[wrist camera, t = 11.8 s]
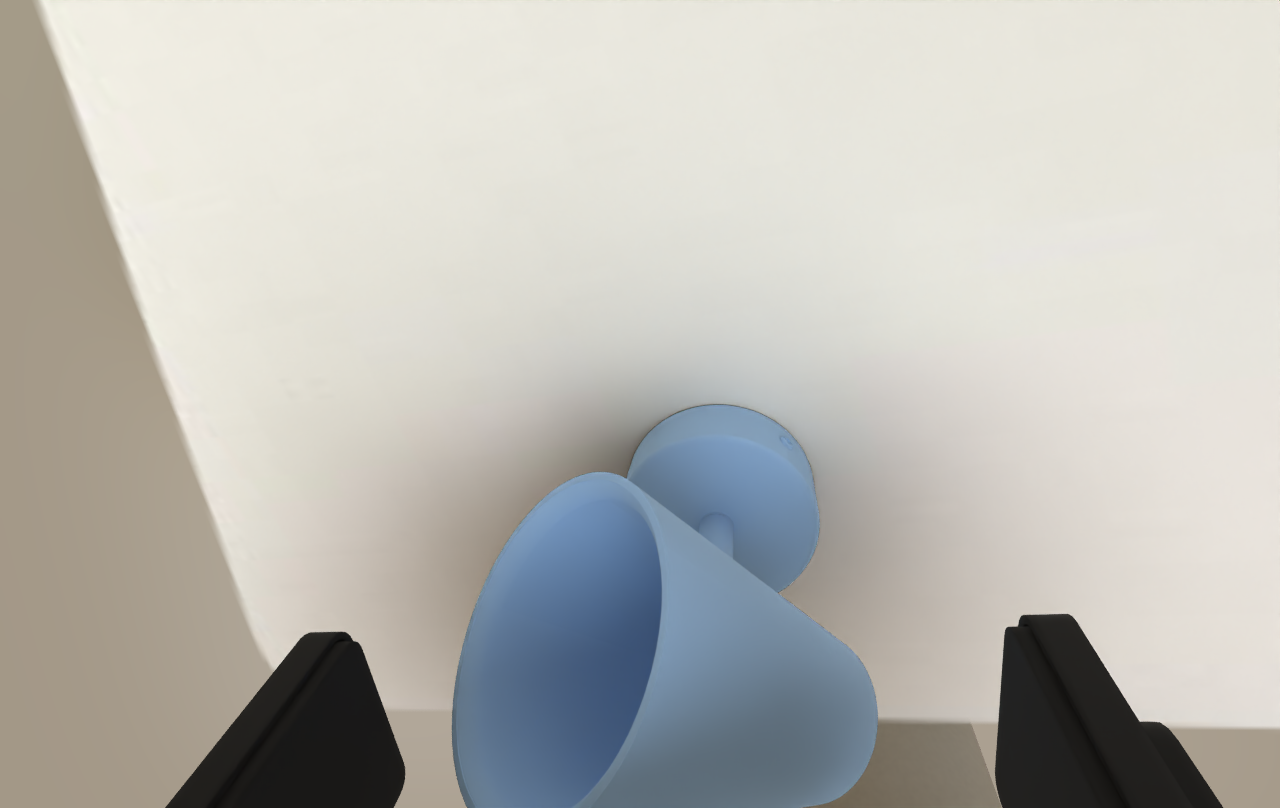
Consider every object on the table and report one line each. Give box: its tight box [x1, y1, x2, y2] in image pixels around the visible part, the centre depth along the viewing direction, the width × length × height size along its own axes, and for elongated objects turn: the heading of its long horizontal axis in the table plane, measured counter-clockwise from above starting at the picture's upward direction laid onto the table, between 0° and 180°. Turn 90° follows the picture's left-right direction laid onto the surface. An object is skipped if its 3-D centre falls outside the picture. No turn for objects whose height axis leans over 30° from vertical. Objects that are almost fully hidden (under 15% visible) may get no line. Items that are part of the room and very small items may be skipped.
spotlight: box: [452, 405, 878, 808], centre depth 13 cm, size 5×10×7 cm
